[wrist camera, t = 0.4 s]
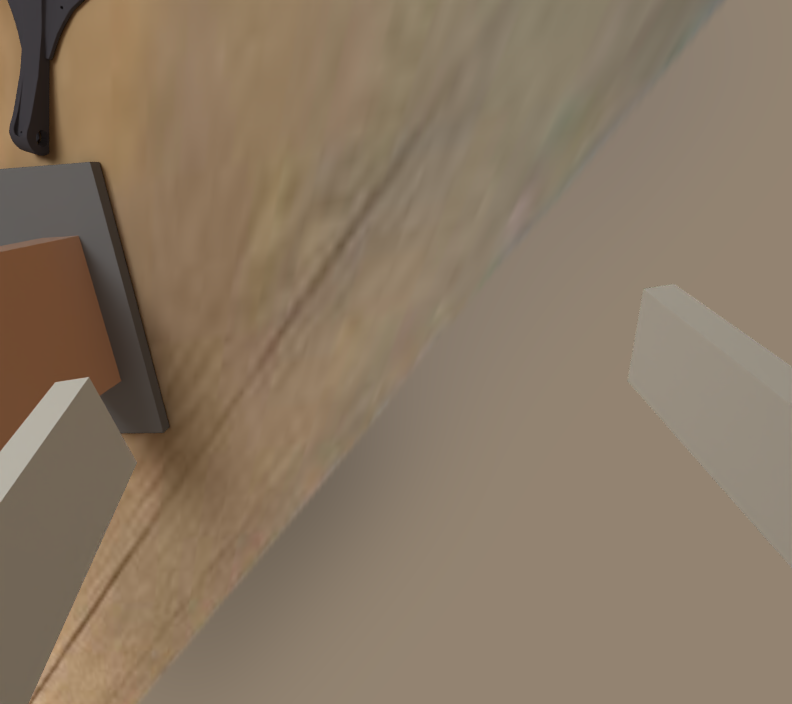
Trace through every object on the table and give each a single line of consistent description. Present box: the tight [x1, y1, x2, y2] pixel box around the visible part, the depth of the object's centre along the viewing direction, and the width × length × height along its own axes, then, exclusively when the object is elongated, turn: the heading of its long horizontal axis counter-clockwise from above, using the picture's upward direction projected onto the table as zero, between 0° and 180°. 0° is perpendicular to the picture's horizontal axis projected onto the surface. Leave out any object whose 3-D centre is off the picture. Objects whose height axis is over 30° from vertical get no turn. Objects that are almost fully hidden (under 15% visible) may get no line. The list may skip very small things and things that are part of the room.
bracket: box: [8, 0, 84, 156], centre depth 33 cm, size 14×15×3 cm
